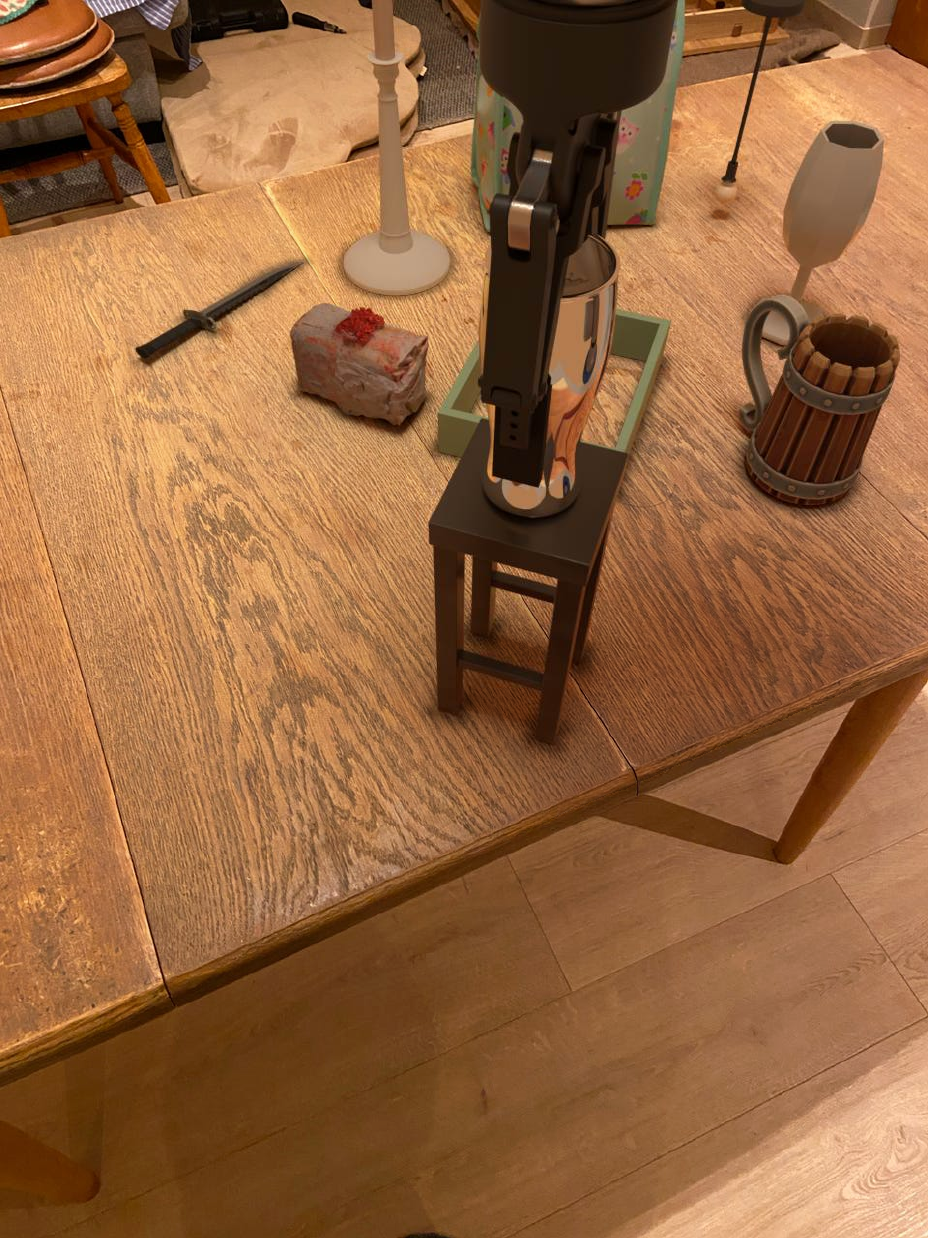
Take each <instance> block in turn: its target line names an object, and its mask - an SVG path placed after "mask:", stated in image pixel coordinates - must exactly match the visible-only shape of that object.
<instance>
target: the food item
mask: <svg viewBox="0 0 928 1238" xmlns="http://www.w3.org/2000/svg"><path fill="white" fill-rule="evenodd" d="M384 317H385V316H382V315H380V314H378V313H375V312H374V311H373V309H372V308H371V307H367V308H366V306H364V307H363V306H359V308H358V307H356V308H355V309H354V308H352V309H351V311H350V310H347V309H345V308H342V307H340V306H338V305H337V306H336V305H334V304H332V303H329V302H322V303H319V304H316V305H314V306H312V307H311V308H310V309H309V310H307V312H305V313H303V315H302V316H301V317H299V319H297V320H296V321H295V322H294V324H293V325H292V326H291V328H290V331H289V338H290V340H291V344H290V345H291V350H292V355H293V361H294V366H295V372H296V378H297V385H298V386H297V387H298V389H299V391H300V392H306V393H308V394H313V395H318V396H319V397H320V398H323V399H326V400H329V401H332V402H333V403H336V405H337V406H338V407H339V409H340V410H341V412H342V413H344V414H345V415H347V416H350V415H351V416H355V417H359V416H362V415H363V416H364V417H366V418H369V419H383V420H386V421H387V422H389V423H390V424H391V425H392V426H396V425H398V426H401V424H402V423H404V421H405V419H406V418H407V416H411V415H412V414H413V413H417V411H418V410H419V409H420V406H421V405H422V403H423V402H424V401H425V400H426V398H427V396H426V395H427V393H426V392H427V390H426V381H427V379H426V378H427V377H426V375H427V374H426V366H427V355H428V350H429V346H430V345H429V336H428V335H421V334H420V335H419V334H416V332H412V331H411V330H408V329H404V328H401V327H398V326H394V325H391V324H388V323H387V322H385V318H384Z"/></svg>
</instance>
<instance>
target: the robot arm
mask: <svg viewBox="0 0 928 1238" xmlns="http://www.w3.org/2000/svg"><path fill="white" fill-rule="evenodd" d="M677 3H678V0H480V11H481V20H480V69H481V72H482V75H483V77H484V79H485V81H486V83H487V84H488V85H489V86H490V88H491V89H492V90H493V91H495V92H496V93H497V94H498V95H500V96H501V97H505V98H506V99H507V100H508V101H510V102H511V103H512V104H513V105H514V106H515V107H516V108H517V109H518V110H519V111H520V113H521V114H522V118H523V124H522V126H521V131H520V133H519V132H514V134H513V136H512V139H511V142H510V147H509V154H508V162H507V174H508V176H509V179H510V189H509V195H506V194H501V193H496V194H495V196H494V197H493V201H492V202H491V204H490V208H489V215H490V232H489V235H490V244H491V266H490V280H489V294H488V308H487V322H486V336H485V350H484V365H483V374H482V375H481V376H480V378H478V387H480V388H481V391H480V401H481V403H482V404H485V405H486V404H490V405H494V406H495V418H494V440H493V462H492V476H493V477H497V478H501V479H505V480H509V481H513V482H517V483H521V484H525V485H529V486H533V487H537V488H539V485H540V483H541V480H542V476H543V467H544V458H545V448H546V439H547V430H548V421H549V412H550V402H551V393H552V384H548V383H547V379H548V373H549V368H550V362H551V356H552V351H553V345H554V340H555V334H556V329H557V323H558V318H559V310H560V301H561V297H562V295H563V290H564V284H565V279H566V273H567V268H568V262H569V257H570V255H573V254H574V253H575V252H576V251H578V250H579V249H580V248H581V247H582V244H583V243H584V242H585V241H586V240H587V239H588V235H592V233H595V234H597V235H599V236H601V237H602V238H604V239H605V240H606V237H607V230H608V225H607V222H608V214H609V206H610V197H611V189H612V181H613V173H614V165H615V156H616V148H617V141H618V137H619V124H620V118H621V113H622V110H625V109H628V108H631V107H633V106H636V105H638V104H640V103H641V102H643V101H645V100H646V99H648V98H649V97H650V96H651V95H652V94H653V93H654V92H655V91H656V90H657V89H658V88H659V86H660V85H661V83H662V81H663V79H664V76H665V72H666V66H667V61H668V55H669V49H670V43H671V38H672V32H673V26H674V21H675V15H676V9H677Z"/></svg>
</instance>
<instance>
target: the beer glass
mask: <svg viewBox="0 0 928 1238" xmlns="http://www.w3.org/2000/svg"><path fill="white" fill-rule="evenodd" d="M490 266H491V243H490V244H489V245H488V247H487V249H486V250H485V254H484V271H483V278H482V284H481V285H482V286H481V293H480V303H479V314H478V315H479V317H478V339H479V361H480V370H481V375H482V374H483V365H484V350H485V336H486V322H487V308H488V294H489V280H490ZM620 270H621V259H620V256H619V253H618V252H617V250H616V249H615V247H614V246H613V245H612V244H611V243H610V242H609V241H608V240H607V239H606V238H605V239H604V238H602V237H601V236H599V235H597V234H595V233H592V235H588V239H587V240H586V241H585V242H584V243H583V244H582V247H581V248H580V249H579V250H578V251H576V252H575V253H574V254H573V255H570V257H569V262H568V268H567V273H566V279H565V284H564V290H563V295H562V297H561V301H560V310H559V318H558V323H557V329H556V334H555V340H554V345H553V351H552V356H551V362H550V368H549V373H548V379H547V383H548V384H552V393H551V402H550V412H549V421H548V430H547V439H546V448H545V458H544V467H543V476H542V480H541V483H540V485H539V488H537V487H533V486H529V485H525V484H521V483H517V482H513V481H509V480H505V479H501V478H497V477H493V476H492V462H493V440H494V418H495V406H494V405H490V404H486V403H485V406H486V411H487V416H488V417H487V418H489V424H490V445H489V450H488V453H487V457H486V460H485V464H484V467H483V472H482V485H483V489H484V491H485V493H486V495H487V497H488V498H489V499H490V500H491V501H492V502H493V503H494V504H495V505H496V506H498V507H499V508H501V509H502V510H504V511H506V512H509V513H511V514H514V515H518V516H523V517H544V516H549V515H553V514H556V513H558V512H560V511H562V510H564V509H566V508H567V507H568V506H570V505H571V504H572V503H573V502H574V500H575V499H576V497H577V496H578V493H579V491H580V487H581V470H580V459H579V451H580V443H581V440H582V438H583V434H584V432H585V428H586V425H587V423H588V420H589V418H590V414H591V413H592V410H593V408H594V405H595V403H596V400H597V397H598V395H599V392H600V390H601V386H602V383H603V380H604V377H605V374H606V372H607V371H606V370H607V368H608V365H609V360H610V355H611V354H610V351H611V346H612V341H613V333H614V326H615V318H616V309H617V305H618V304H617V303H618V292H619V290H618V289H619V277H620V272H621V271H620Z"/></svg>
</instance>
